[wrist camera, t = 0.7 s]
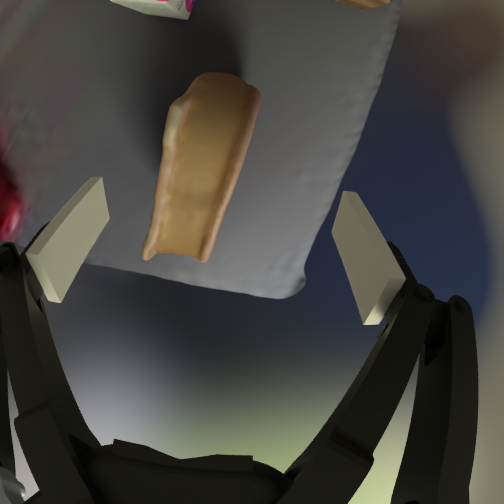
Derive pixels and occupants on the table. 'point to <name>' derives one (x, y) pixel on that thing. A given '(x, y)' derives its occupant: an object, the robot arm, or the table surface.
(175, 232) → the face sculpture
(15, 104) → the table surface
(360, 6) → the frame
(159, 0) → the supplement box
